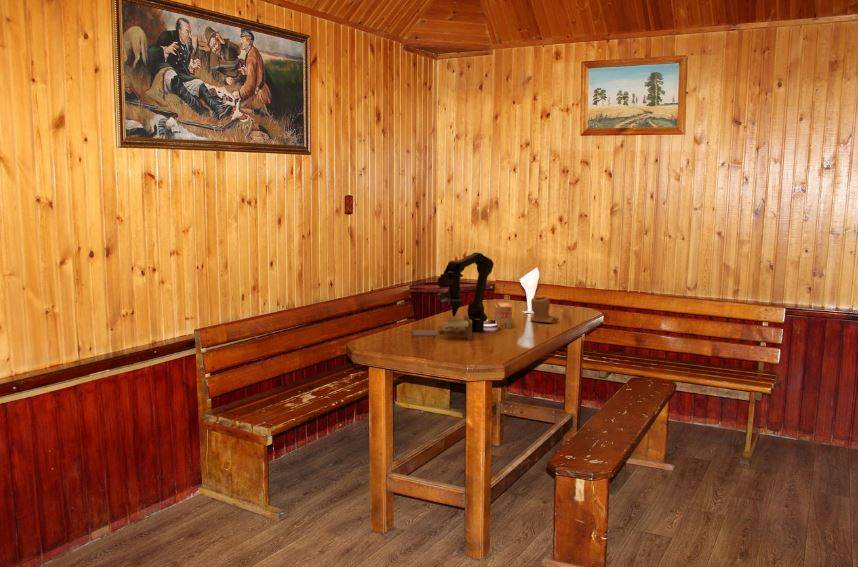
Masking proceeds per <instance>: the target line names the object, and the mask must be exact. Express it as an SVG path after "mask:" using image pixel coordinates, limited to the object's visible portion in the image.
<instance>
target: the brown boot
mask: <svg viewBox="0 0 858 567" xmlns="http://www.w3.org/2000/svg"><path fill="white" fill-rule="evenodd" d="M550 301H551V300H550V298H549V297H548V296H545V295H544V296H534V297H533V298H531V301H530V304H531V308H532V311H533V317H531V318H530V321H532V322H536V323H543V322H544V324H545V323H546V324H555V323H557V322H558V321H559V320H560V318H559V317H556V316H551V315H550V314H549V311H550V306H551V302H550Z"/></svg>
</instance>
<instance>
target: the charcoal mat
mask: <svg viewBox="0 0 858 567" xmlns="http://www.w3.org/2000/svg"><path fill="white" fill-rule="evenodd" d="M437 336H438V334H437V331H436V330H435V329H433V330H432V329H431V330H430V329H429V330H428V329H427V330H426V329H413V330H412V337H413V338H415V337H434V338H435V337H437Z"/></svg>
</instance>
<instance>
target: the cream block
mask: <svg viewBox="0 0 858 567" xmlns="http://www.w3.org/2000/svg"><path fill="white" fill-rule="evenodd" d="M456 329H457V326H447V330H456Z"/></svg>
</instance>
